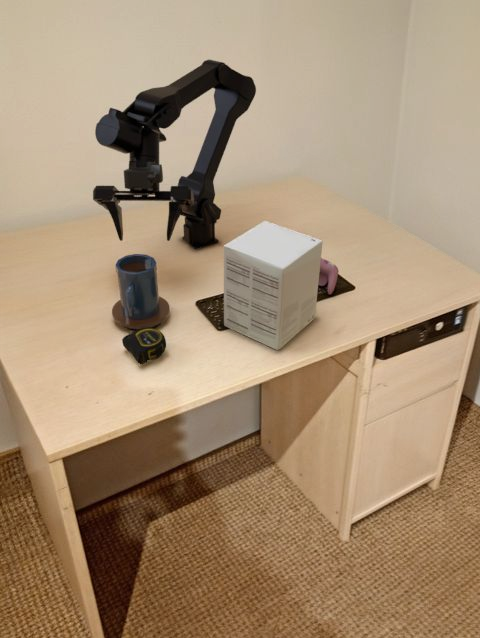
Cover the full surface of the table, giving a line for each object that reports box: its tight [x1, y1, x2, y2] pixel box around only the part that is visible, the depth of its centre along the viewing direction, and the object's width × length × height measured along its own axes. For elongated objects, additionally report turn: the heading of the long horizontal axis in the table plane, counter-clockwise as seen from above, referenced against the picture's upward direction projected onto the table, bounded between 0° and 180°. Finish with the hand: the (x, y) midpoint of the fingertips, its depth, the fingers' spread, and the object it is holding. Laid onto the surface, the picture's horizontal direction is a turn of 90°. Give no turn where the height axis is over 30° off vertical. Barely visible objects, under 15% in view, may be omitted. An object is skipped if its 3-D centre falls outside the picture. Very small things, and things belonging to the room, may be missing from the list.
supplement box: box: [223, 220, 323, 351], centre depth 114 cm, size 13×13×18 cm
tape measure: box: [121, 328, 167, 366], centre depth 109 cm, size 7×7×4 cm
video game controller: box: [318, 257, 339, 295], centre depth 129 cm, size 10×5×7 cm, turn 71°
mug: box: [111, 253, 171, 329], centre depth 115 cm, size 12×11×11 cm
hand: (144, 240), depth 119 cm, fingers open, 9 cm apart
